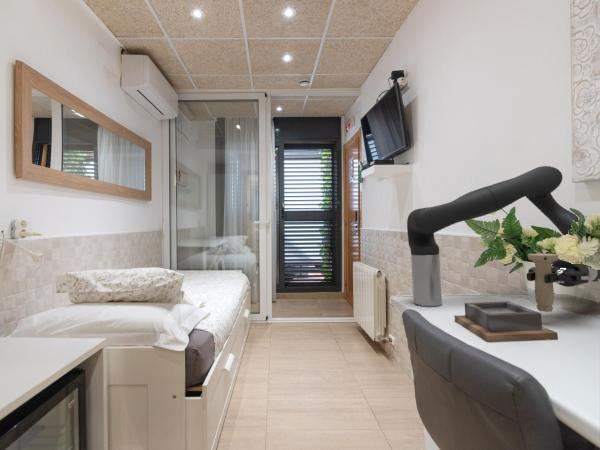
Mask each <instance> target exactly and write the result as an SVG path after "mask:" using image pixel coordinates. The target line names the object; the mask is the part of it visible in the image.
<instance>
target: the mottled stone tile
mask: <svg viewBox="0 0 600 450" xmlns="http://www.w3.org/2000/svg"><path fill="white" fill-rule="evenodd" d="M484 310H486V311H489V312H491V313H516V311H514V310H511V309H509V308H484Z"/></svg>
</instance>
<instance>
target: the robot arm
mask: <svg viewBox="0 0 600 450" xmlns="http://www.w3.org/2000/svg"><path fill="white" fill-rule="evenodd" d="M562 182H563V174H562V172H561V171H560V170H559V169H558V168H556V167H555V166H550V165H541V166H538V167H535V168H533V169H531V170H529V171H527V172H525V173H522V174H520V175H517V176H515V177H513V178H509V179H507V180H502V181H500V182H496V183H493V184H491V185H486V186H483V187H481V188H477V189H474V190H471V191H469V192H467V193H465V194H463V195H461V196H459V197H457V198H456V199H454V200H451V201H449V202H446V203H442V204H438V205H435V206H430V207H429V206H428V207H422V208H421V207H420V208H417V209H414V210H413V211H411V212H410V213H408V214H409V215H408V216H407V220H406V229H407V242H408V245H409V249H410V261H411V276H412V277H411V279H412V282H411V283H412V298H413V299H412V300H413V301H412V302H414V303H415V304H414V303H413V304H414V305H416V304H418V305H417V306H420V305H421V306H420V307H439V306H441V305H443V302H442V300H443V299H442V297H443V296H442V278H441V275H442V274H441V261H440V260H441V258H440V247H439V244H437V242H436V239H435V233H437V232H439V231H441V230H443V229H445V228H447V227H449V226H453V225H456V224H457V223H460V222H466V221H469V220H474V219H478V218H480V217H483V216H486V215H487V216H488V215H489V214H493V213H496V212H498V211H500V210H502V209H504V208H506V207H507V206H510V205H512V204H513V203H515V202H517V201H518V200H520V199H522V198H524V197H526V199H527V200H528V201H529V202H531V204H533V205H534V206H535V207H536V208H537V209H538V210H539V211H540V212H541V213H542V214H543V215H544V216H545V217H546V218H547V219H548V220H549V221H551V223H552V224H553V225H554V226H555V227H556V229H558V231H559V232H560V233H561V234H562V235H566V234H568V230H570V229H572V227H571V220H574V221H575V222H578V217H577V216H578V215H577V214H576V213H574V212H572V211H570V210H568V209H566V208H565V207H564V206H561V204H559V203H558V202H557V200H556V199H555V197H554V196H553V195H552V193H553V192H554V191H556V190H557V189H558V187H560V185H561V183H562ZM573 213H574V214H573ZM576 215H577V216H576ZM563 260H564V259H560V260H559V259H558V260H557V261H554V262H552V263H551V272H552V274H546V275H544V282H545V283H548V284H549V283H553V284H554V283H556V284H558V285H560V286H562V287H565V288H566V287H567V288H571V287H575V286H580V285H585V284H588V283H590V282H594V283H595V282H596V283H597V282H599V281H598V279H600V270H594V269H592V268H590V267H587V266H584V265H582V264H571V263H569V262H566V261H563ZM526 280H527V282H533V281H534V282H535V266H533V267H532V266H531V267H530V268H529V269H528V272H527V273H526Z"/></svg>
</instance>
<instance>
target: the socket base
mask: <svg viewBox="0 0 600 450" xmlns="http://www.w3.org/2000/svg"><path fill="white" fill-rule="evenodd" d="M484 308H509V309H511V310H514V311H516V313H491V312H489V311H486V310H484ZM542 319H543V318H542V313H541V312H540V311H536V310H534V309H531V308H528V307H525V306H523V305H520V304H517V303H514V302H512V301H508V300H507V301H506V300H505V301H504V300H502V301H483V302H481V301H480V302H464V315H454V322H456V324H459V325H460V326H462V327H463V328H465V329H466V330H468V331H469V332H472V333H473V334H474V335H476V336H477V337H479V338H481V339H482V340H485V342H487V343H495V342H496V343H498V342H499V343H500V342H501V343H502V342H521V341H523V342H525V341H543V340H544V341H548V339H550V340H558V338H559V336H558V332H557V331H555V330H551V329H550V328H548V327H545V326H543V324H542V323H543V320H542ZM546 339H547V340H546Z"/></svg>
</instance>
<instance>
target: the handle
mask: <svg viewBox="0 0 600 450" xmlns="http://www.w3.org/2000/svg"><path fill="white" fill-rule="evenodd" d="M527 259H528V261H531V262H533V264H534V267H535V281H534V298H535V302H536V308H537V310H538V312H544V313H550V312H553V309H554V307H553V305H554V299H555V298H554V297H555V296H554V294H555V290H554V283H549V284H548V283H545V282H544V275H546V274H552V272H551V266H552V264H553V263H554V262H556V261H558V260H559V254H555V253H527Z"/></svg>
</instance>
